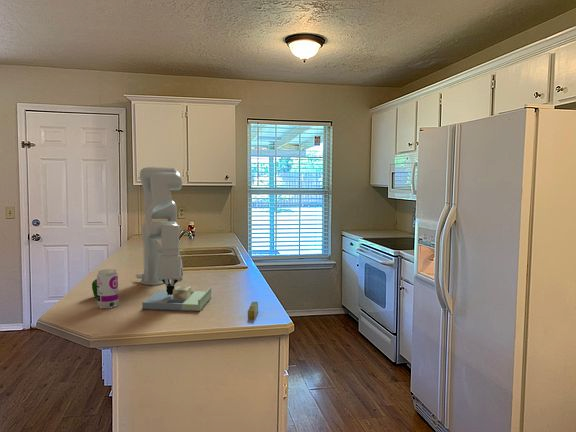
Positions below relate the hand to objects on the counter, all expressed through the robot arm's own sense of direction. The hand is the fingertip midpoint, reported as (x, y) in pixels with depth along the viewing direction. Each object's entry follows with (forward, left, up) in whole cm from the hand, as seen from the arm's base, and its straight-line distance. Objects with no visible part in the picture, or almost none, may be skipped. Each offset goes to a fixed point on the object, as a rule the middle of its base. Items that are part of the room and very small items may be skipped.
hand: (170, 294), depth 188 cm
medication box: (+38, -11, -5) cm, 40 cm away
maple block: (+5, 0, -1) cm, 5 cm away
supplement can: (-25, -7, -4) cm, 26 cm away
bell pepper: (-34, +6, -4) cm, 34 cm away
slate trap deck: (+3, 0, -4) cm, 5 cm away
